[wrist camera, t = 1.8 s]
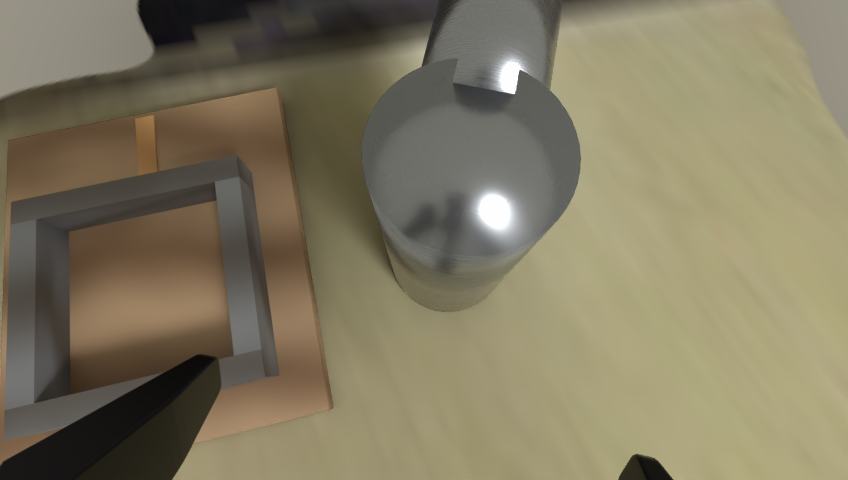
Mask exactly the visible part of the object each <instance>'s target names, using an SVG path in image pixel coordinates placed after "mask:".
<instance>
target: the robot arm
mask: <svg viewBox="0 0 848 480" xmlns="http://www.w3.org/2000/svg"><path fill="white" fill-rule="evenodd" d="M221 384H222V382H221V373H220V364H219V360H218V358H217V357H215V356H210V355H206V354H197V355H195V356H193V357H191V358H189V359H187V360H186V361H184V362H182V363H180V364H178V365H177V366H175V367H173V368H171V369H169V370H167V371H166V372H164V373H162V374H160V375H158V376H157V377H155V378H153V379H151V380H149V381H148V382H146V383H144V384H142V385H140V386H138V387H137V388H135V389H133V390H131V391H129V392H128V393H126V394H124V395H122V396H120V397H119V398H117V399H115V400H113V401H111V402H110V403H108V404H106V405H104V406H102V407H100V408H99V409H97V410H95V411H93V412H91V413H90V414H88V415H86V416H84V417H82V418H81V419H79V420H77V421H75V422H73V423H71V424H70V425H68V426H66V427H64V428H62V429H61V430H59V431H57V432H55V433H53V434H52V435H50V436H48V437H46V438H44V439H42V440H41V441H39V442H37V443H35V444H33V445H32V446H30V447H28V448H26V449H24V450H23V451H21V452H19V453H17V454H15V455H14V456H12V457H10V458H8V459H6V460H4V461H3V462H2V463H1V465H0V480H172V479H173V477H174V476H175V474H176V473H177V471H178V470H179V468H180V466H181V465H182V463H183V462H184V460H185V458H186V456H187V454H188V452H189V451H190V449H191V447H192V445H193V443H194V441H195V439H196V437H197V435H198V433H199V431H200V429H201V428H202V426H203V424H204V422H205V420H206V418H207V416H208V414H209V412H210V410H211V408H212V406H213V404H214V402H215V400H216V399H217V397H218V395H219V392H220V389H221ZM618 480H673V479H672V477H671V476H670V475H669V474H668V472H667V471H666V470H665V469H664V467H663V466H662V465H661V464H660V463H659V462H658V461H657V460H656V459H655V458H652V457H649V456H644V455H640V454H635V455H633V456H632V457H631V458H630V460H629V462H628V463H627V465H626V466H625V468H624V470H623V471H622V473H621V474H620V476H619V479H618Z"/></svg>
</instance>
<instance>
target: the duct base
mask: <svg viewBox="0 0 848 480" xmlns="http://www.w3.org/2000/svg"><path fill="white" fill-rule="evenodd" d="M197 354H206V355H210V356H215V357H217V358H218V360H219V364H220V373H221V382H222V384H221V389H220V392H219V395H218V397H217V399H216V400H215V402H214V404H213V406H212V408H211V410H210V412H209V414H208V416H207V418H206V420H205V422H204V424H203V426H202V428H201V429H200V431H199V433H198V435H197V437H196V439H195V441H194V443H193V444H195V443H199V442H203V441H207V440H211V439H215V438H219V437H223V436H227V435H231V434H235V433H239V432H243V431H247V430H251V429H255V428H259V427H263V426H267V425H271V424H275V423H279V422H283V421H287V420H291V419H295V418H299V417H303V416H307V415H311V414H315V413H319V412H323V411H327V410H330V409H332V408H333V402H332V396H331V390H330V384H329V378H328V372H327V366H326V360H325V354H324V348H323V342H322V336H321V330H320V324H319V318H318V312H317V306H316V301H315V295H314V289H313V283H312V277H311V271H310V265H309V259H308V253H307V247H306V241H305V235H304V229H303V223H302V217H301V211H300V205H299V199H298V193H297V187H296V181H295V175H294V169H293V163H292V157H291V151H290V145H289V139H288V133H287V127H286V121H285V115H284V109H283V103H282V98H281V96H280V94H279V92H278V90H277V88H271V89H266V90H260V91H255V92H250V93H245V94H240V95H235V96H230V97H225V98H220V99H215V100H210V101H205V102H200V103H195V104H190V105H184V106H179V107H174V108H169V109H164V110H159V111H154V112H149V113H144V114H139V115H134V116H129V117H124V118H119V119H113V120H108V121H103V122H98V123H93V124H88V125H83V126H78V127H73V128H68V129H63V130H58V131H53V132H48V133H43V134H37V135H32V136H27V137H22V138H17V139H12V140H8V160H7V189H6V218H5V248H4V277H3V306H2V335H1V365H0V465H1V463H2V462H3V461H4V460H6V459H8V458H10V457H12V456H14V455H15V454H17V453H19V452H21V451H23V450H24V449H26V448H28V447H30V446H32V445H33V444H35V443H37V442H39V441H41V440H42V439H44V438H46V437H48V436H50V435H52V434H53V433H55V432H57V431H59V430H61V429H62V428H64V427H66V426H68V425H70V424H71V423H73V422H75V421H77V420H79V419H81V418H82V417H84V416H86V415H88V414H90V413H91V412H93V411H95V410H97V409H99V408H100V407H102V406H104V405H106V404H108V403H110V402H111V401H113V400H115V399H117V398H119V397H120V396H122V395H124V394H126V393H128V392H129V391H131V390H133V389H135V388H137V387H138V386H140V385H142V384H144V383H146V382H148V381H149V380H151V379H153V378H155V377H157V376H158V375H160V374H162V373H164V372H166V371H167V370H169V369H171V368H173V367H175V366H177V365H178V364H180V363H182V362H184V361H186V360H187V359H189V358H191V357H193V356H195V355H197Z"/></svg>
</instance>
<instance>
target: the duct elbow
mask: <svg viewBox="0 0 848 480" xmlns="http://www.w3.org/2000/svg"><path fill="white" fill-rule="evenodd" d="M562 8H563V0H438V4H437V8H436V12H435V16H434V20H433V24H432V28H431V32H430V36H429V39H428V43H427V47H426V51H425V55H424V59H423V63H422V67H420V68H418V69H416V70H414V71H412V72H410V73H409V74H407V75H406V76H404V77H402V78H401V79H400V80H399V81H397V82H396V83H395V84H394V85H392V86H391V87H390V88H389V89H388V90H387V91H386V93H385V94H384V95H383V96H382V97H381V98H380V100H379V101H378V103H377V104H376V105H375V107H374V109H373V111H372V113H371V115H370V116H369V119H368V122H367V124H366V127H365V130H364V135H363V140H362V152H361V156H362V168H363V172H364V176H365V181H366V184H367V187H368V190H369V194H370V197H371V200H372V203H373V207H374V210H375V213H376V216H377V220H378V223H379V226H380V229H381V233H382V236H383V239H384V242H385V245H386V249H387V252H388V255H389V258H390V262H391V265H392V268H393V271H394V274H395V277H396V279H397V281H398V283H399V285H400V287H401V288H402V289H403V291H404V292H405V293H406V294H407V295H408V296H409V297H410V298H411V299H412V300H414V301H415V302H417V303H418V304H420V305H422V306H424V307H426V308H428V309H432V310H435V311H442V312H454V311H460V310H464V309H467V308H469V307H472V306H474V305H476V304H477V303H479V302H480V301H482V300H483V299H484V298H485V297H486V296H487V295H488V294H489V293H490V292H491V291H492V290H493V289H494V288H495V287H496V286H497V285H498V284H499V283H500V281H501V280H502V279H503V278H504V277H505V276H506V275H507V274H508V273H509V272H510V271H511V270H512V269H513V268H514V266H515V265H516V264H517V263H518V262H519V261H520V260H521V259H522V258H523V257H524V256H525V255H526V254H527V252H528V251H529V250H530V249H531V248H532V247H533V246H534V245H535V244H536V243H537V242H538V241H539V240H540V239H541V237H542V236H543V235H544V234H545V233H546V232H547V231H548V230H549V229H550V228H551V227H552V226H553V225H554V223H555V222H556V221H557V220H558V219H559V218H560V216H561V215H562V214H563V212H564V211H565V210H566V208H567V207H568V205H569V203H570V201H571V199H572V197H573V195H574V192H575V189H576V187H577V184H578V179H579V174H580V162H581V156H580V145H579V141H578V137H577V133H576V130H575V127H574V125H573V122H572V120H571V118H570V116H569V115H568V113H567V111H566V109H565V108H564V106H563V105H562V104H561V102H560V101H559V100H558V98H557V97H556V96H555V95H554V94H553V93H552V92H551V91H550V85H551V79H552V72H553V66H554V60H555V53H556V47H557V40H558V34H559V27H560V21H561V15H562Z"/></svg>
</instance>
